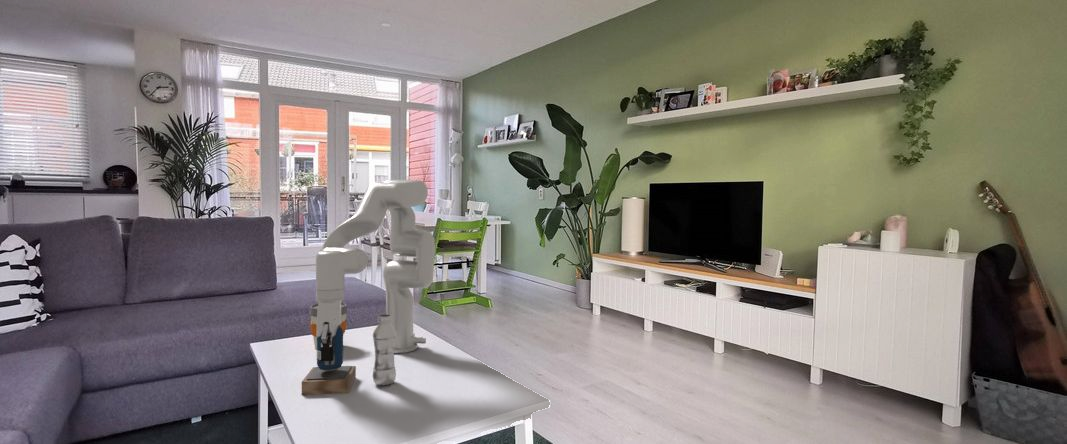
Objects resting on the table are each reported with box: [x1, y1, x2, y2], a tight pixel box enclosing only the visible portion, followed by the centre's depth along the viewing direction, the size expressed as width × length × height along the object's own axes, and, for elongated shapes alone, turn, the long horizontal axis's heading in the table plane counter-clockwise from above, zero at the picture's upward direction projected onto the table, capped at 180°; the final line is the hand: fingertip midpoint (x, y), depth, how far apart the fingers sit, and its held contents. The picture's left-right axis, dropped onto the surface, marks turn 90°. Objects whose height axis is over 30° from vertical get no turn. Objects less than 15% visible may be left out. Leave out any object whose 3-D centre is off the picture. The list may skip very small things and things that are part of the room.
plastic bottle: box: [372, 313, 397, 386], centre depth 149 cm, size 6×7×20 cm
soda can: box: [316, 325, 344, 371], centre depth 146 cm, size 7×7×12 cm
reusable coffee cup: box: [308, 302, 348, 351], centre depth 183 cm, size 13×13×15 cm
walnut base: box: [301, 365, 357, 396], centre depth 146 cm, size 12×12×4 cm
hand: (330, 356), depth 146 cm, fingers closed on soda can, 7 cm apart
